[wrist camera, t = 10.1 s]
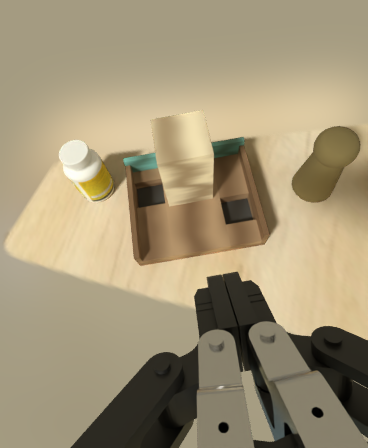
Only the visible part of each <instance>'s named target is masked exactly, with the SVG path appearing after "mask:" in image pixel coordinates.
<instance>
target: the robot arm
mask: <svg viewBox="0 0 368 448" xmlns="http://www.w3.org/2000/svg"><path fill="white" fill-rule="evenodd" d="M207 283H208V288H203V289H198V290H197V292H196V294H195V296H194V299H195V306H196V314H197V321H198V329H199V342H198V344H197V346H196V347H195V349H193V350H192V351H191V352H190V353H188V354H186V355H184V356H182V357H178V356H177V355H175V354H173V353H170V352H163V353H159V354H156V355H155V356H153V357H152V358H150V359H149V360H148V362H146V364H145V365H144V366H143V367H142V368H141V369H140V370H139V372H138V373H137V374H136V375H135V376H134V377H133V378H132V379H131V381H130V382H129V383H128V384H127V385H126V386H125V387H124V388H123V389H122V391H121V392H120V393H119V394H118V395H117V396H116V397H115V398H114V399H113V401H112V402H111V403H110V404H109V405H108V406H107V407H106V408H105V410H104V411H103V412H102V413H101V414H100V415H99V416H98V417H97V419H96V420H95V421H94V422H93V423H92V424H91V425H90V426H89V428H88V429H87V430H86V431H85V432H84V433H83V434H82V436H81V437H80V438H79V439H78V440H77V441H76V442H75V443H74V445H73V446H72V447H71V448H179V446H180V445H181V443H182V441H183V440H184V438H185V437H186V435H187V433H188V432H189V430H190V429H191V427H192V425H193V421H194V419H196V418H197V442H198V448H368V442H366V440H365V439H364V437H363V436H362V434H363V435H365V436H366V437H367V438H368V389H367V388H368V340H365V339H363V338H361V337H358V336H356V335H354V334H352V333H349V332H347V331H345V330H343V329H340V328H337V327H332V326H323V327H319V328H317V329H315V330H314V331H313V333H312V335H311V336H300V335H294V334H291V333H288V332H286V331H285V329H284V328H283V327H282V326H280V325H279V324H277V323H276V321H275V319H274V317H273V315H272V313H271V311H270V309H269V307H268V305H267V302H266V301H265V298H264V296H263V295H262V292H261V290H260V288H259V286H258V285H256V284H255V283H254V282H252V281H251V280H250V281H244V282H242V281H241V278H240V276H239V273H238V272H233V273H227V274H223V277H222V275H216V276H210V277H207ZM242 363H243V366H244V370H245V371H249V370H251V371H252V375H253V379H254V388H255V391H256V393H257V396H258V399H259V401H260V404H261V406H262V409H263V411H264V414H265V416H266V419H267V422H268V424H269V427H270V429H271V432H272V435H273V438H274V440H275V441H274V442H265V441H258V440H253V438H252V432H251V426H250V421H249V415H248V409H247V404H246V398H245V393H244V387H243V385H242V378H241V372H243V366H242ZM353 380H354V381H356V382H358V383H359V384H361V385H363V386H365V387H367V388H365V387H363V386H361V385H359V384H358V383H356V382H354V381H353Z"/></svg>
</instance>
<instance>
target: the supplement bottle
mask: <svg viewBox="0 0 368 448" xmlns="http://www.w3.org/2000/svg"><path fill="white" fill-rule="evenodd" d="M59 158H60V160H61V162H62V163H63V170H64V173H65V175H66V176H67V177H68V178H69V180H70V181H71V182H72V183H73V184H74V186H75V187H76V188H77V189H78V191H79V192H80V193H81V194H82V195H83V196H84V198H85V199H87V200H88V201H90V202H102V201H104V200H106V199H108V198H109V197H110V196H111V194H112V193H113V190H114V181H113V179H112V177H111V175H110V174H109V172H108V170H107V168H106V167H105V165H104V163H103V161H102V160H101V158H100V156H99V155H98V154H97V153H96V152H95V151H94V150H92V149H89V148H88V146H87V144H85V142H83V141H80V140H72V141H69V142H67V143H66V144H65V145H63V146H62V148H61V149H60V152H59Z"/></svg>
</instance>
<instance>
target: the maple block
mask: <svg viewBox="0 0 368 448" xmlns="http://www.w3.org/2000/svg"><path fill="white" fill-rule="evenodd" d="M151 127H152V133H153V140H154V147H155V154H156V161H157V166H158V169H159V173H160V176H161V180H162V183H163V186H164V190H165V193H166V197H167V200H168V204H169V206H175V205H180V204H186V203H191V202H197V201H202V200H208V199H213V169H214V152H213V148H212V144H211V140H210V137H209V132H208V128H207V123H206V119H205V115H204V111H203V110H201V111H195V112H190V113H184V114H179V115H173V116H168V117H163V118H157V119H152V120H151Z"/></svg>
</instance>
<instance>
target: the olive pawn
mask: <svg viewBox="0 0 368 448" xmlns="http://www.w3.org/2000/svg"><path fill="white" fill-rule="evenodd" d="M359 151H360V141H359V138H358V136H357V135H356V134H355V133H354V132H353V131H352V130H350V129H348V128H346V127H340V126H337V127H331V128H328V129H326V130H324V131H323V132H322V133H320V134H319V135H318V137H317V139H316V140H315V142H314V148H313V153H312V154H311V155H310V157H309V158H308V159H307V160H306V162H305V163H304V164H303V165H302V166H301V168H300V169H299V170H298V171H297V173H296V174H295V175H294V177H293V180H292V187H293V190H294V192H295V193H296V195H298V196H299V197H300V198H301V199H303V200H305V201H308V202H321V201H324V200H326V199H327V198H328V197H329V196H330V195H331V193H332V191H333V189H334V187H335V185H336V183H337V181H338V179H339V177H340V175H341V172H342V170H343V168H344V167H345V166H347V165H349V164H350V163H351V162H353V161H354V160H355V158H356V157H357V155H358V153H359Z"/></svg>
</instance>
